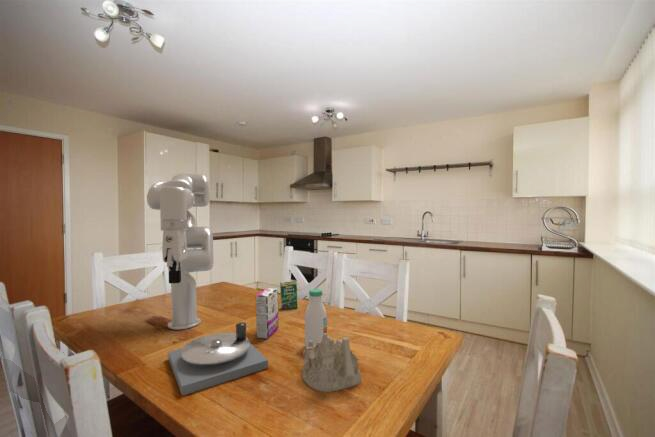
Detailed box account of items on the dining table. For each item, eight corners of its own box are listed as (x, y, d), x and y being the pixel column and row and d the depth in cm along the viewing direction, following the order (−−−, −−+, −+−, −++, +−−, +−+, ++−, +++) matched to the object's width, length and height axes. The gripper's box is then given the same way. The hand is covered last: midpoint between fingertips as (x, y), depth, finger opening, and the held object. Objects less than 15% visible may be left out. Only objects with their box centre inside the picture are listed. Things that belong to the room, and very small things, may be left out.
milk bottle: (319, 353, 102) (318, 294, 102) (300, 348, 106) (300, 291, 106) (331, 344, 109) (330, 289, 108) (313, 340, 113) (312, 286, 112)
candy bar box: (267, 327, 126) (266, 287, 125) (278, 328, 125) (278, 288, 124) (255, 338, 115) (255, 295, 114) (268, 339, 114) (267, 295, 113)
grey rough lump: (367, 385, 83) (363, 330, 84) (308, 397, 79) (304, 339, 80) (348, 361, 98) (345, 315, 99) (298, 370, 94) (295, 322, 95)
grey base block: (168, 359, 99) (168, 348, 99) (241, 340, 113) (241, 331, 112) (182, 395, 79) (181, 382, 79) (268, 368, 93) (267, 356, 93)
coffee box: (280, 309, 147) (280, 283, 147) (280, 308, 150) (280, 281, 150) (297, 308, 149) (297, 282, 149) (296, 306, 152) (296, 280, 152)
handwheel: (190, 376, 82) (189, 350, 82) (175, 349, 98) (174, 327, 98) (259, 354, 94) (259, 332, 94) (236, 333, 110) (236, 314, 110)
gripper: (179, 226, 90) (180, 288, 91) (192, 224, 105) (193, 277, 106) (152, 226, 89) (153, 289, 90) (169, 224, 104) (170, 278, 104)
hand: (175, 282), depth 98 cm, fingers closed
